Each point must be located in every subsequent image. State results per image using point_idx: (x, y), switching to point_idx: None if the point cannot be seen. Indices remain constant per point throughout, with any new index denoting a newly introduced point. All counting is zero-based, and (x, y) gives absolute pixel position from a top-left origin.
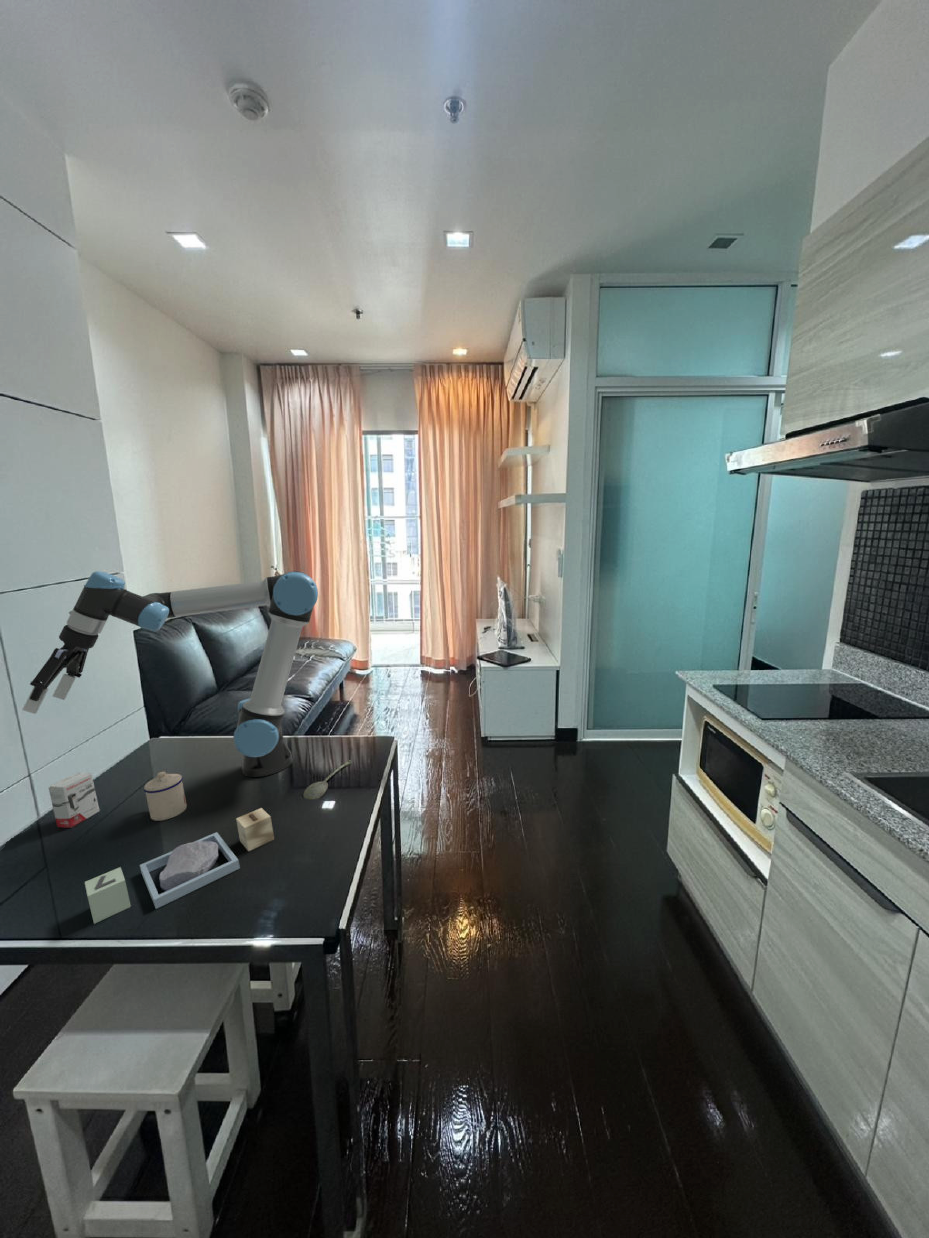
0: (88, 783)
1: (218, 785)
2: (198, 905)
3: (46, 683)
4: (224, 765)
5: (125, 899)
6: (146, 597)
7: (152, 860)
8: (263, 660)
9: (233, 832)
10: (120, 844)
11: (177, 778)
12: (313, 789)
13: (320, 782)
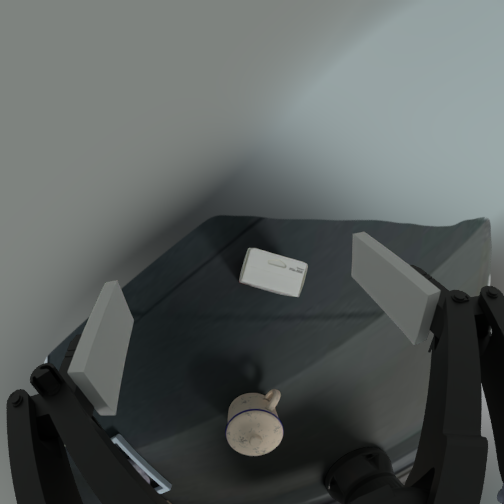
0: (284, 294)
1: (319, 440)
2: (84, 480)
3: (61, 448)
4: (386, 412)
5: None
6: None
7: (122, 446)
8: None
9: (184, 493)
10: (176, 387)
11: (256, 453)
12: None
13: None
